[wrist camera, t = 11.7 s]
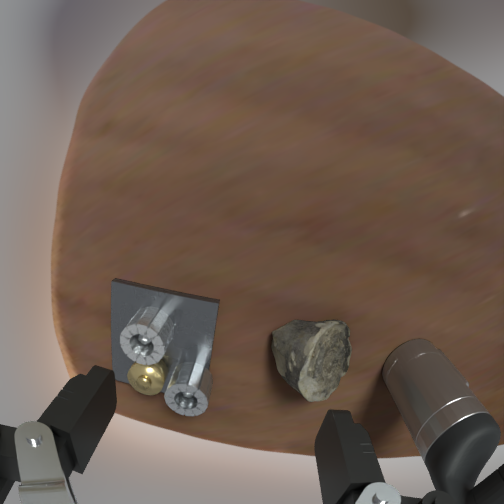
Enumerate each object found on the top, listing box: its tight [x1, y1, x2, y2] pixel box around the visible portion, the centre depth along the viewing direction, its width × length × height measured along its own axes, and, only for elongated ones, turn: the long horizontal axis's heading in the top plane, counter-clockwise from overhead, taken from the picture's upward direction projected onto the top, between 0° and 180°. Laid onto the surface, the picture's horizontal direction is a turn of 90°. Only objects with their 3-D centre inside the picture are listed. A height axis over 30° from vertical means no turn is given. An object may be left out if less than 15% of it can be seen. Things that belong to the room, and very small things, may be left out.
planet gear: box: [120, 306, 174, 365], centre depth 37 cm, size 6×6×5 cm
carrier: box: [111, 278, 220, 398], centre depth 39 cm, size 14×16×5 cm
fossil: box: [271, 320, 352, 402], centre depth 38 cm, size 11×9×10 cm
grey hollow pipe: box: [164, 362, 213, 416], centre depth 39 cm, size 6×6×5 cm
